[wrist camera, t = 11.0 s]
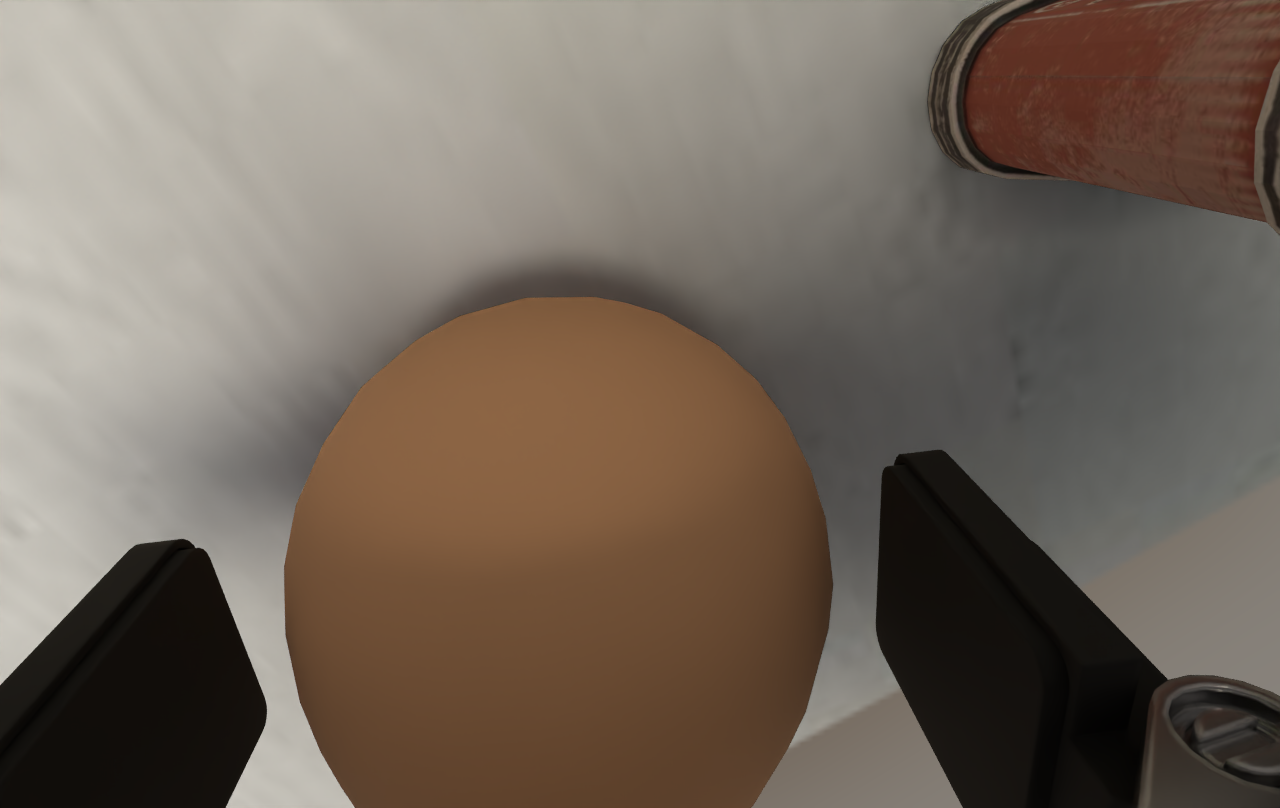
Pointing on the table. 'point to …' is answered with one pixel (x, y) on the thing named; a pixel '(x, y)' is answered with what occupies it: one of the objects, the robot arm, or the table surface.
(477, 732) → the egg
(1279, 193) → the lighter
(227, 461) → the table surface
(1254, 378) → the table surface
